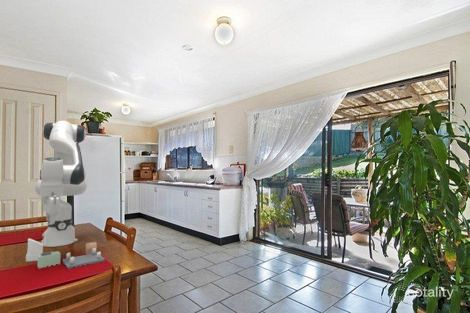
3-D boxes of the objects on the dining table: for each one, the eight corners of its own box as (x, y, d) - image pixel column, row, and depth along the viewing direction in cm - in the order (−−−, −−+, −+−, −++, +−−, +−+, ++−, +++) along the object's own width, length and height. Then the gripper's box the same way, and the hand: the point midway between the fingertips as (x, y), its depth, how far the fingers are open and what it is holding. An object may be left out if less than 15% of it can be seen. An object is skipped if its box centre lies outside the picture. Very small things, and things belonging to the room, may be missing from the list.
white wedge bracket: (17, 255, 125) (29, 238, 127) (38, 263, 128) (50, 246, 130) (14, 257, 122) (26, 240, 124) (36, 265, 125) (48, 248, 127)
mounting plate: (62, 261, 124) (62, 252, 124) (96, 254, 134) (97, 246, 134) (67, 268, 114) (68, 259, 114) (104, 261, 124) (104, 252, 125)
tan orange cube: (84, 253, 137) (84, 243, 137) (94, 251, 140) (95, 241, 140) (86, 255, 133) (87, 245, 133) (97, 253, 136) (97, 243, 137)
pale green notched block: (37, 265, 119) (37, 253, 119) (58, 261, 124) (58, 249, 124) (38, 268, 115) (39, 255, 115) (60, 264, 120) (60, 252, 121)
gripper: (64, 193, 116) (62, 224, 115) (56, 190, 131) (54, 218, 130) (46, 194, 111) (45, 226, 111) (40, 191, 126) (39, 220, 126)
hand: (50, 222), depth 120 cm, fingers open, 8 cm apart
